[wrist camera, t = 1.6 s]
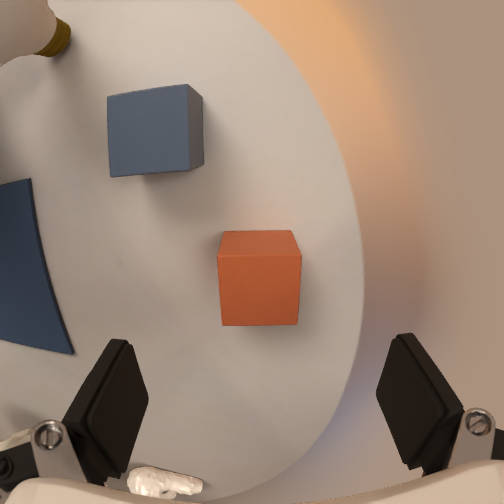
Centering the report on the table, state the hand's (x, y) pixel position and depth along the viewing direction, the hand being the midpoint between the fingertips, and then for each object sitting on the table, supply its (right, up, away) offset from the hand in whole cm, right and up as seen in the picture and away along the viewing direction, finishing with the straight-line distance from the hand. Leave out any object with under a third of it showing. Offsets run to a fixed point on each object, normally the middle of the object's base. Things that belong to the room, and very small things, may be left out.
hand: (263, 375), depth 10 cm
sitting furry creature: (-13, -25, +20) cm, 35 cm away
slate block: (-5, +11, +6) cm, 14 cm away
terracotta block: (0, +4, +9) cm, 10 cm away
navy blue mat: (-23, +2, +9) cm, 25 cm away
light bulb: (-13, +19, +3) cm, 23 cm away
